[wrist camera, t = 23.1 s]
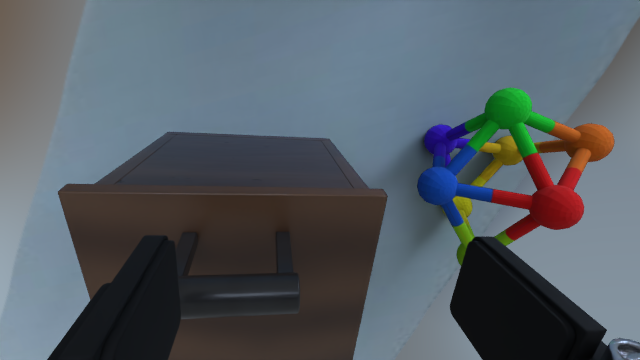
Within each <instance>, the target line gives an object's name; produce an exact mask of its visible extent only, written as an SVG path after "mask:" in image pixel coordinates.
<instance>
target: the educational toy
mask: <svg viewBox="0 0 640 360" xmlns="http://www.w3.org/2000/svg"><path fill="white" fill-rule="evenodd" d="M524 124H526V125H528V126H531V127H533V128H536V129H538V130H540V131H543V132H545V133H548V134H550V135H552V136H555V137H558V138H560V139H562V140H555V141H546V142H537V143H533V141H532V139H531V137H530V135H529V133H528V131H527V129H526V127H525V125H524ZM480 128H481V129H480ZM478 129H480V130H479V131H478V132H477V133H476V134H475V135H474V136H473V137H472V138H471V140H470V139H463V138H460V137H462V136H464V135H466V134H469V133H471V132H473V131H475V130H478ZM498 129H509V131H510V133H511V135H512V136H505V137H502V138H500V139H499V140H498V141H496V142H495V143H489V142H487V141H488V140H489V139H490V138H491V137H492V136H493V135H494V134H495V132H496V131H497V130H498ZM424 143H425V147H426V149H427V150H428V151H429V152H430V153H431V154H434V156H433V167H432V168H429V169H427V170H426V171H424V172H423V173H422V174H421V176H420V178H419V179H418V184H417V188H418V192H419V195H420V196H421V197H422V198H423V199H424V200H425V201H426V202H428V203H431V204H433V205H441V207H442V211H443V213H444V214H445V215H446V216H447V218H448V219H449V221H450V223H451V225H452V227H453V228H454V230H455V232H456V234H457V235H458V237H459V239H460V241H461V244H460V246H459V247H458V250H457V259H458V262H459V264H460V265H461V266H462V262H463V259H464V255H465V252H466V248H467V245H468V243H469V242H470V241H472V239H473V238H474V237H475V236H474V234H473V231H472V229H471V227H470V224H469V222H468V219H467V217H468V216H469V215H470V214H471V211H472V202H471V200H470V199H476V200H481V201H486V202H491V203H497V204H502V205H507V206H513V207H518V208H523V209H528V210H529V212H530V214H529V215H527V216H526V217H524V218H523V219H521V220H520V221H518V222H517V223H515V224H513V225H512V226H510V227H509V228H507V229H506V230H504V231H503V232H501V233H500V234H498V235H497V236H495V237H494V238H496V239H497V240H499V241H500V242H501V243H502V244H503V245H505V246H506V245H508V244H510V243H512V242H513V241H515V240H517V239H518V238H520V237H522V236H523V235H525V234H527V233H528V232H530V231H532V230H533V229H535V228H537V227H539V226H540V225H542V226H544V227H547V228H550V229H554V230H559V229H565V228H570V227H571V226H573V225H575V224H577V223H578V221H579V220H580V219H581V218H582V215H583V213H584V205H583V202H582V199H581V197H580V196H579V195H578V194H577V193H575V192H574V188H575V187H576V185H577V182H578V180H579V178H580V176H581V174H582V172H583V170H584V168H585V166H586V164H587V162H593V161H598V160H601V159H602V158H604V157H606V156H607V155H608V154H609V153H610V152H611V151H612V149H613V147H614V137H613V134H612V133H611V132H610V131H609V130H608V129H607V128H606V127H604V126H602V125H597V124H584V125H581V126H578V127H576V128H574V129H572V128H570V127H567V126H565V125H563V124H560V123H558V122H556V121H553V120H551V119H549V118H546V117H544V116H542V115H539V114H537V113H535V112H532V102H531V99H530V97H529V96H528V95H527V94H526V93H525V92H524V91H522V90H520V89H516V88H506V89H502V90H499V91H497V92H496V93H494V94H493V95H492V96H491V97H490V98H489V100H488V101H487V103H486V106H485V113H483V114H481V115H479V116H477V117H475V118H473V119H471V120H469V121H467V122H465V123H463V124H461V125H459V126H457V127H455V128H453V129H452V128H451V127H450V126H447V125H437V126H433V127H432V128H431V129H429V130H428V131H427V133H426V135H425V139H424ZM454 148H460V149H461V151H460V152H459V153H458V154H457V155H456V156H455V157H454V158H453V159H452V160H451V158H450V154H449V153H451V152H452V151H453V150H454ZM478 151H481V152H488V153H493V157H494V158H495V159H494V160H493V161H492V162H491V163H490V164H489V165H488V166H487V167H486V168H485V169H484V170H483V172H482V173H481V174H480V175H479V176H478V177H477V178H476V179H475V180H474V181H473V182H472V183H471V184H470V185H467V184H461V183H458V181H457V179H456V177H455V176H456V175H457V174H458V173H459V172H460V170H461V169H462V168H463V167H464V166H465V165H466V164H467V163H468V162H469V161H470V160H471V159H472V157H473V156H474V155H475V154H476V153H477V152H478ZM561 151H566V152H567V154H568V155H569V156H570V157H571V160H570V162H569V164H568V166H567V168H566V169H565V172H564V173H563V175H562V177H561V179H560V180H559V182H558V184H557V185H554V184H553V182H552V180H551V178H550V176H549V174H548V172H547V170H546V168H545V166H544V164H543V162H542V160H541V158H540V155H539V153H548V152H561ZM522 160H523V161H524V163H525V165H526V167H527V169H528V171H529V173H530V175H531V177H532V179H533V182H534V184H535V186H536V188H537V191H536V192H535V193H534V194H533V195H532V196H531V195H525V194H519V193H513V192H507V191H502V190H496V189H490V188H484V187H482V186H483V185H484V184H485V183H486V182H487V181H488V180H489V179H490V178H491V177H492V176H493V175H494V174H495V173H496V172H497V170H498V169H499V168H500V167H501V166H502V165H515V164H517V163H519V162H521V161H522Z"/></svg>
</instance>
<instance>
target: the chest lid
mask: <svg viewBox="0 0 640 360" xmlns="http://www.w3.org/2000/svg"><path fill="white" fill-rule="evenodd" d="M58 195H59V198H60V201H61V205H62V208H63V211H64V215H65V218H66V221H67V224H68V228H69V231H70V234H71V238H72V241H73V244H74V247H75V251H76V254H77V257H78V260H79V264H80V267H81V270H82V274H83V277H84V280H85V283H86V287H87V290H88V293H89V297H90V300H91V299H92V298H93V297H94V295H95V294H96V292H97V291H98V290H99V288H100V287H101V286H102V285H103V284H106V283H111V282H112V281H113V279H114V278H115V276H116V275H117V274H118V272H119V271H120V269H121V268H122V266H123V265H124V264H125V262H126V261H127V259H128V258H129V256H130V255H131V254H132V252H133V251H134V249H135V248H136V246H137V245H138V244H139V242H140V241H141V239H142V238H143V237H144V236H145V235H166V236H167V237H168V240H173V241H174V242H175V249H176V260H177V272H178V284H179V296H180V308H181V320H180V325H179V328H178V331H177V334H176V337H175V340H174V343H173V346H172V349H171V352H170V355H169V358H168V360H353V355H354V351H355V346H356V341H357V337H358V332H359V327H360V323H361V318H362V313H363V309H364V304H365V299H366V295H367V290H368V285H369V281H370V276H371V271H372V267H373V262H374V257H375V253H376V248H377V243H378V239H379V234H380V229H381V225H382V220H383V215H384V211H385V206H386V201H387V197H388V196H387V194H386V193H385V191H384V190H383V189H357V188H295V187H233V186H171V185H108V184H66V185H65V186H64V187H63V188H62V189H60V190H59V191H58Z"/></svg>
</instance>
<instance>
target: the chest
mask: <svg viewBox="0 0 640 360" xmlns="http://www.w3.org/2000/svg"><path fill="white" fill-rule="evenodd" d="M95 184H108V185H171V186H233V187H295V188H357V189H369V188H368V187H367V185H366V184H365V183H364V182H363V180H362V179H361V178H360V177H359V175H358V174H357V173H356V172H355V170H354V169H353V168H352V167H351V165H350V164H349V163H348V162H347V160H346V159H345V158H344V157H343V155H342V154H341V153H340V152H339V150H338V149H337V148H336V147H335V145H334V144H333V143H332V142H331V140H330V139H324V138H301V137H277V136H254V135H231V134H207V133H184V132H167V133H166V134H164V135H163V136H162V137H160V138H159V139H157V140H156V141H155V142H153V143H152V144H150V145H149V146H147V147H146V148H145V149H143V150H142V151H140V152H139V153H138V154H136V155H135V156H133V157H132V158H130V159H129V160H128V161H126V162H125V163H123V164H122V165H121V166H119V167H118V168H116V169H115V170H113V171H112V172H111V173H109V174H108V175H106V176H105V177H104V178H102V179H101V180H99V181H98V182H96V183H95Z"/></svg>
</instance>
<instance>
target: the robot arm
mask: <svg viewBox="0 0 640 360" xmlns="http://www.w3.org/2000/svg"><path fill="white" fill-rule="evenodd" d="M450 310H451V314H452V316H453V317H454V319H455V320H456V322H457V323H458V325H459V326H460V327H461V329H462V330H463V332H464V333H465V335H466V336H467V338H468V339H469V341H470V342H471V343H472V345H473V346H474V348H475V349H476V351H477V352H478V354H479V355H480V357H481V358H482V359H483V360H640V343H639V342H636V341H632V340H629V339H622V338H618V339H613V340H612V341H611V342H610V343H609V345H608V346H607V345H605V344H604V343H603V342H602V341H601V340H602V338H603V337H604V335H605V333H606V331H607V330H606V329H605V328H604V327H603V326H601V325H600V324H599V323H598V322H597V321H595V320H594V319H593V318H592V317H590V316H589V315H588V314H587V313H586V312H585V311H583V310H582V309H581V308H580V307H578V306H577V305H576V304H575V303H574V302H572V301H571V300H570V299H569V298H568V297H566V296H565V295H564V294H563V293H561V292H560V291H559V290H558V289H557V288H555V287H554V286H553V285H552V284H551V283H549V282H548V281H547V280H546V279H545V278H543V277H542V276H541V275H540V274H539V273H537V272H536V271H535V270H534V269H532V268H531V267H530V266H529V265H528V264H526V263H525V262H524V261H523V260H522V259H520V258H519V257H518V256H517V255H515V254H514V253H513V252H512V251H511V250H509V249H508V248H507V247H506V246H505V245H503V244H502V243H501V242H500V241H499V240H497V239H496V238H494V237H474V238H473V239H472V241H470V242H469V243H468V245H467V248H466V252H465V255H464V259H463V262H462V266H461V269H460V273H459V276H458V279H457V283H456V286H455V290H454V293H453V296H452V300H451V304H450ZM180 320H181V308H180V296H179V284H178V272H177V260H176V249H175V242H174V241H173V240H168V237H167V236H166V235H145V236H144V237H143V238H142V239H141V241H140V242H139V244H138V245H137V246H136V248H135V249H134V251H133V252H132V254H131V255H130V256H129V258H128V259H127V261H126V262H125V264H124V265H123V266H122V268H121V269H120V271H119V272H118V274H117V275H116V276H115V278H114V279H113V281H112V282H111V283H106V284H103V285H102V286H101V287H100V288H99V290H98V291H97V292H96V294H95V295H94V297H93V298H92V299H91V301H90V302H89V303H88V305H87V306H86V307H85V309H84V310H83V312H82V313H81V314H80V316H79V317H78V318H77V320H76V321H75V322H74V324H73V325H72V327H71V328H70V329H69V331H68V332H67V333H66V335H65V336H64V337H63V339H62V340H61V342H60V343H59V344H58V346H57V347H56V348H55V350H54V351H53V352H52V354H51V355H50V357H49V358H48V359H47V360H168V358H169V355H170V352H171V349H172V346H173V343H174V340H175V337H176V334H177V331H178V328H179V325H180Z"/></svg>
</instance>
